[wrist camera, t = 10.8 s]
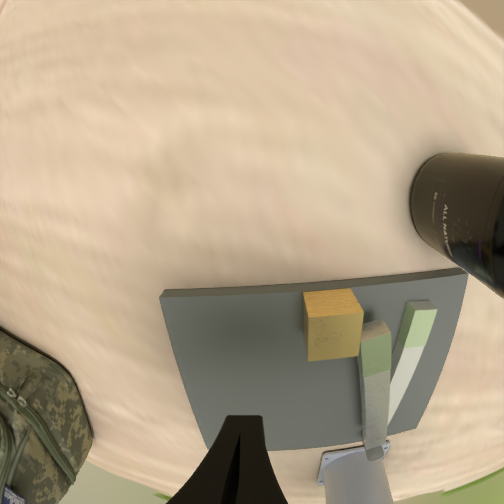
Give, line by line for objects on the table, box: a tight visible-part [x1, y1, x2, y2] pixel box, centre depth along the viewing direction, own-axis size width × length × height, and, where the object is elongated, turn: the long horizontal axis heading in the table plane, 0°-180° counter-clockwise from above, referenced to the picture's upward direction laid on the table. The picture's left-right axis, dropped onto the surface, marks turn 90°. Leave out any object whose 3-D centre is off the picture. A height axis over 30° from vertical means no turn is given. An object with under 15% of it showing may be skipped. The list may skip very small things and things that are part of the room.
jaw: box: [357, 318, 391, 450], centre depth 17 cm, size 13×2×2 cm, turn 16°
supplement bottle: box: [411, 153, 504, 298], centre depth 10 cm, size 7×7×12 cm
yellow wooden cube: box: [303, 288, 364, 361], centre depth 16 cm, size 3×3×3 cm
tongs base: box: [159, 268, 468, 461], centre depth 19 cm, size 18×22×5 cm
